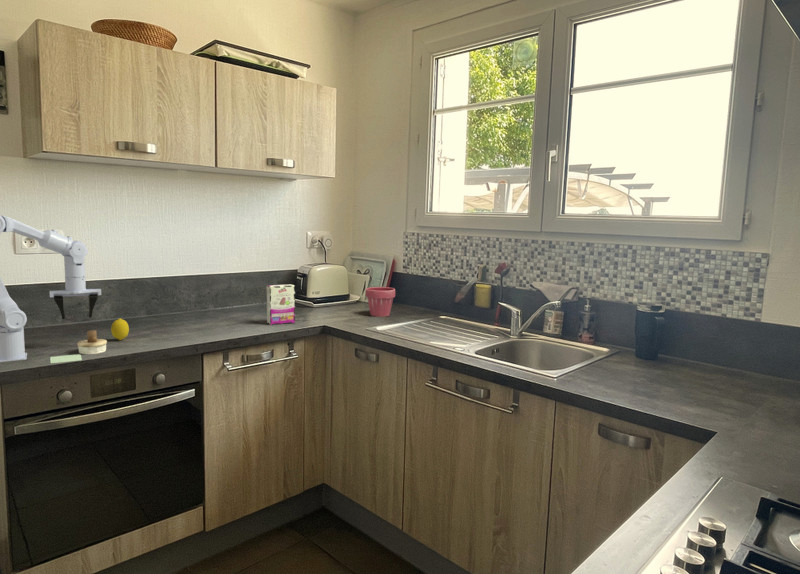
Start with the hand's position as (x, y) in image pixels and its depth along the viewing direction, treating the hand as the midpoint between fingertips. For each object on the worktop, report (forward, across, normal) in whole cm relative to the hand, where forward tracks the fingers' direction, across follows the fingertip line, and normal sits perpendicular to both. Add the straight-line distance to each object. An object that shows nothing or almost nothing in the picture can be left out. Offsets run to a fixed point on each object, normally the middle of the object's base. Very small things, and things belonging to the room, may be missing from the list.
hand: (77, 317), depth 178 cm
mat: (+10, -4, -16) cm, 19 cm away
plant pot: (+10, +124, +10) cm, 125 cm away
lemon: (+10, +13, +4) cm, 17 cm away
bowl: (+10, +4, -10) cm, 14 cm away
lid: (+7, +4, -10) cm, 13 cm away
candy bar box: (+10, +75, +11) cm, 76 cm away
